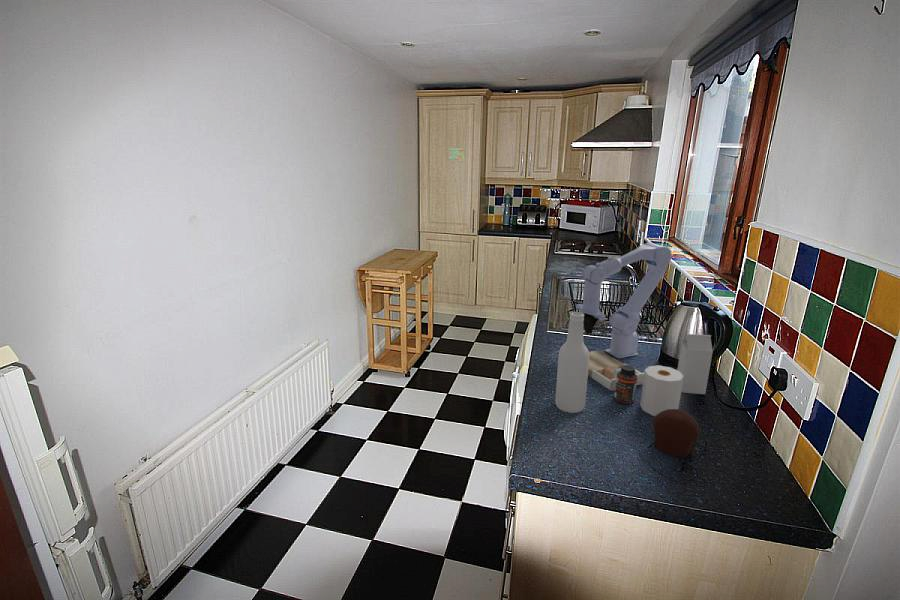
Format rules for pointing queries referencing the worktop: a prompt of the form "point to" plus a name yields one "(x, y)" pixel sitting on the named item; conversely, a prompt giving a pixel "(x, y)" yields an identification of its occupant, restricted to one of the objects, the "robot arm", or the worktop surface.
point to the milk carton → (695, 363)
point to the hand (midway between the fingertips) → (588, 332)
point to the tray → (612, 383)
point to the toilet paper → (661, 389)
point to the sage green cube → (616, 372)
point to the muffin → (675, 432)
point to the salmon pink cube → (609, 372)
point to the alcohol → (572, 368)
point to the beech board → (601, 362)
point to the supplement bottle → (626, 385)
